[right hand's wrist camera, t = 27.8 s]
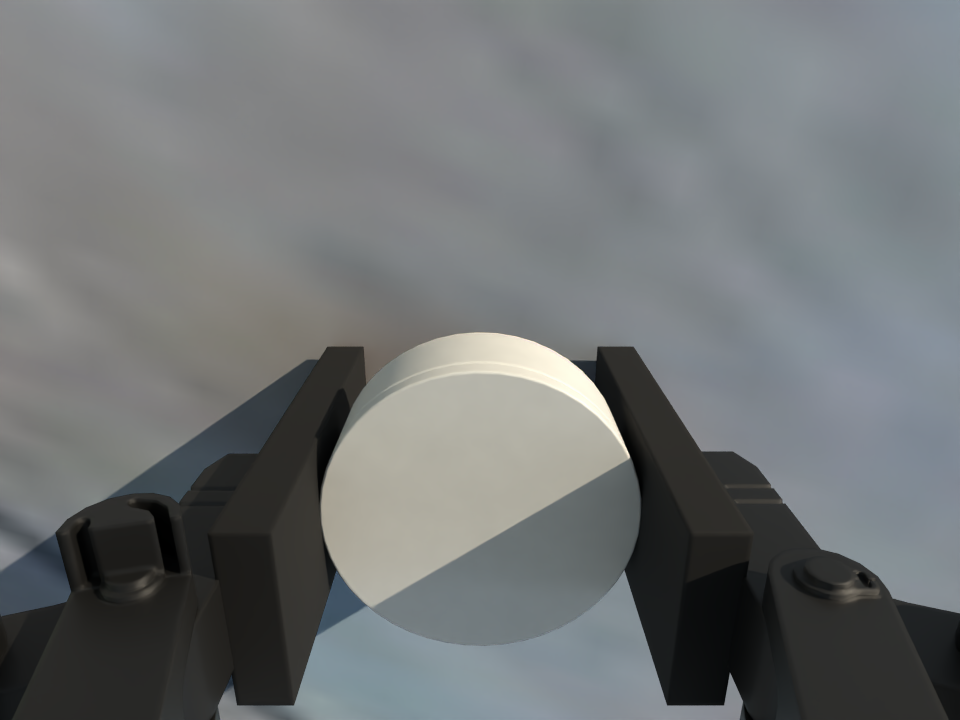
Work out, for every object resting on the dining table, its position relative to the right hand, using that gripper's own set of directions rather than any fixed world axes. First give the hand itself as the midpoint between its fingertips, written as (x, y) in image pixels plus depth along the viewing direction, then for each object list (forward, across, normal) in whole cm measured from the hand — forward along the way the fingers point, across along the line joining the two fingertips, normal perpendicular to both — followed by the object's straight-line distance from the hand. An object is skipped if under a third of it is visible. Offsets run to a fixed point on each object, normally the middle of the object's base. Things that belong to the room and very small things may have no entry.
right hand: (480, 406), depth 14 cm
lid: (-4, 0, 0) cm, 4 cm away
